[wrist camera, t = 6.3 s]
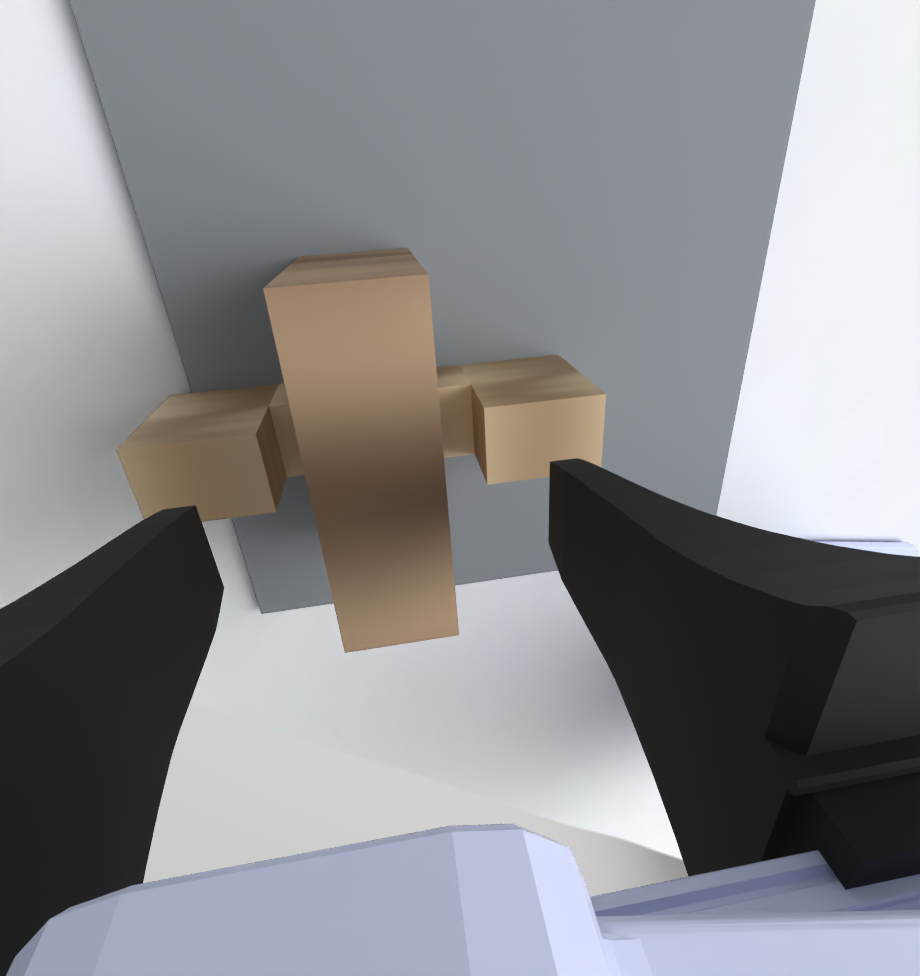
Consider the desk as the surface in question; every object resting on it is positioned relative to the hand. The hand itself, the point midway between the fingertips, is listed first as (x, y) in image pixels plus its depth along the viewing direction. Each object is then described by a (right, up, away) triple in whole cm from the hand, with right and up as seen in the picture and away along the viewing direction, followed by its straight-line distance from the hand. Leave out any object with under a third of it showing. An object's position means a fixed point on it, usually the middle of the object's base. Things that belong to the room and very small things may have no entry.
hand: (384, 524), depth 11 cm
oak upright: (-1, +3, +6) cm, 7 cm away
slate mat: (+2, +7, +5) cm, 9 cm away
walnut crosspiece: (-1, +3, +6) cm, 7 cm away
